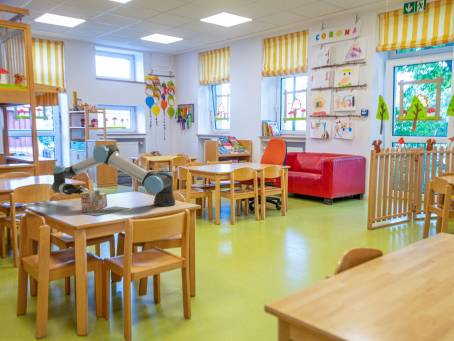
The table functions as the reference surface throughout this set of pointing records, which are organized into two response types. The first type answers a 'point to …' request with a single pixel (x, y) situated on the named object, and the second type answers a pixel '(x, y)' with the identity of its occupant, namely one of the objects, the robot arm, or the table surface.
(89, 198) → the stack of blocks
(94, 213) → the mat
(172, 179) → the robot arm
